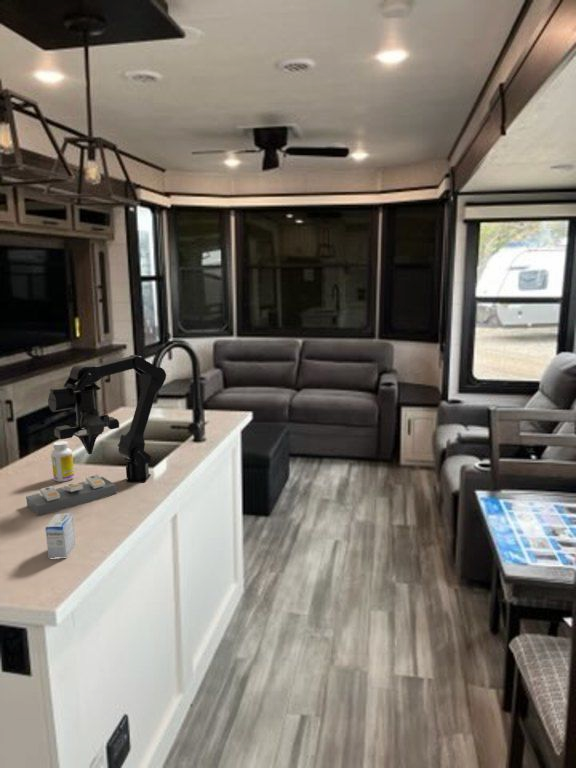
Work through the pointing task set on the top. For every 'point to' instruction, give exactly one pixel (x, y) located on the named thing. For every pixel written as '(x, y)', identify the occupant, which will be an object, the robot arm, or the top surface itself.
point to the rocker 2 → (95, 481)
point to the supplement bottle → (62, 462)
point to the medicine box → (60, 535)
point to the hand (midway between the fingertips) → (89, 453)
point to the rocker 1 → (50, 493)
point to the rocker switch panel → (69, 497)
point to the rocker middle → (73, 487)
